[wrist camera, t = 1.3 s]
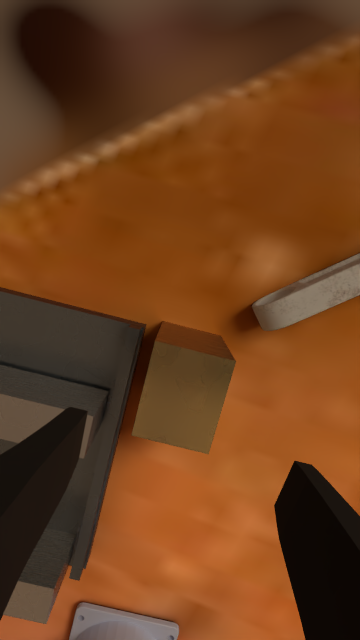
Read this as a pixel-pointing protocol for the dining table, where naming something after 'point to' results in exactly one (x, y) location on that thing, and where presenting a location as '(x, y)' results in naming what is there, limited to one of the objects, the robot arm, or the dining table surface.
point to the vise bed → (93, 471)
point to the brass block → (184, 388)
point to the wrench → (309, 295)
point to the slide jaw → (45, 404)
